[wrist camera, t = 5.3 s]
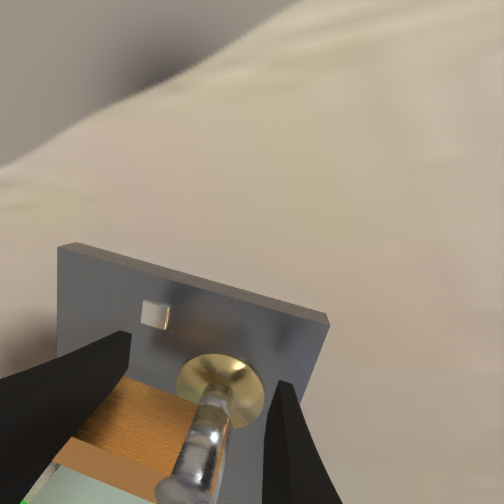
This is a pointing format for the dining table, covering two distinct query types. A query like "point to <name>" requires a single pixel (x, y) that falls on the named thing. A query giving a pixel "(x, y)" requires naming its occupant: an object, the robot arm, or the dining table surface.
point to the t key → (155, 443)
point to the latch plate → (192, 342)
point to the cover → (81, 490)
